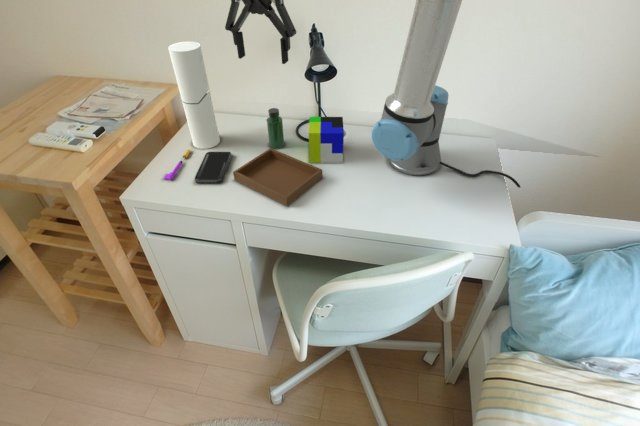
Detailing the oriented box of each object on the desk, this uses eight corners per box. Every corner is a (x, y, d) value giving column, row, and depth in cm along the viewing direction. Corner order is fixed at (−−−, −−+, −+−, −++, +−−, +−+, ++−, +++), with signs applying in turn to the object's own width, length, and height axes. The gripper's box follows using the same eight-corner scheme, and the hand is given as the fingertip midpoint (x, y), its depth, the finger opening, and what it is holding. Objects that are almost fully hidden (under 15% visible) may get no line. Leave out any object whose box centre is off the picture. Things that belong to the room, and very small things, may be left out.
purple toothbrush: (172, 180, 107) (192, 150, 119) (170, 177, 106) (190, 147, 119) (164, 181, 108) (184, 152, 120) (162, 178, 107) (183, 149, 119)
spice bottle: (287, 144, 122) (284, 109, 114) (277, 150, 119) (274, 115, 111) (276, 139, 124) (272, 105, 117) (266, 145, 122) (262, 111, 114)
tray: (322, 178, 108) (322, 169, 106) (287, 207, 98) (286, 197, 96) (271, 156, 117) (270, 147, 115) (234, 180, 107) (232, 171, 105)
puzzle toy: (342, 162, 114) (343, 133, 107) (309, 162, 114) (308, 133, 107) (341, 145, 121) (342, 116, 115) (310, 145, 122) (309, 116, 115)
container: (223, 135, 127) (204, 41, 107) (215, 149, 120) (193, 51, 100) (198, 134, 127) (175, 41, 107) (189, 148, 121) (162, 51, 101)
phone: (193, 180, 106) (206, 151, 117) (194, 183, 106) (207, 154, 118) (221, 180, 105) (232, 151, 117) (222, 183, 106) (232, 154, 117)
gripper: (306, -28, 93) (308, 59, 107) (218, -33, 99) (231, 50, 113) (294, -23, 87) (298, 69, 101) (202, -28, 94) (218, 59, 108)
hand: (263, 59), depth 107 cm, fingers open, 13 cm apart
